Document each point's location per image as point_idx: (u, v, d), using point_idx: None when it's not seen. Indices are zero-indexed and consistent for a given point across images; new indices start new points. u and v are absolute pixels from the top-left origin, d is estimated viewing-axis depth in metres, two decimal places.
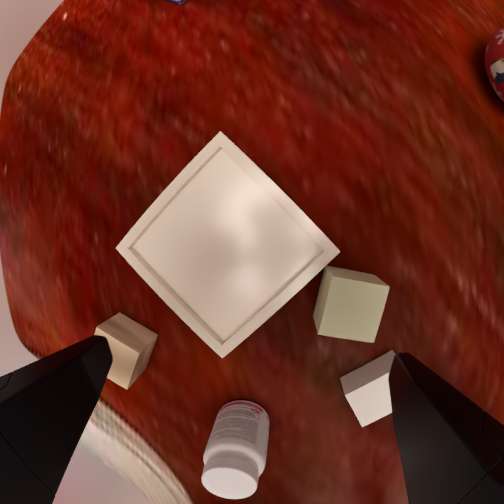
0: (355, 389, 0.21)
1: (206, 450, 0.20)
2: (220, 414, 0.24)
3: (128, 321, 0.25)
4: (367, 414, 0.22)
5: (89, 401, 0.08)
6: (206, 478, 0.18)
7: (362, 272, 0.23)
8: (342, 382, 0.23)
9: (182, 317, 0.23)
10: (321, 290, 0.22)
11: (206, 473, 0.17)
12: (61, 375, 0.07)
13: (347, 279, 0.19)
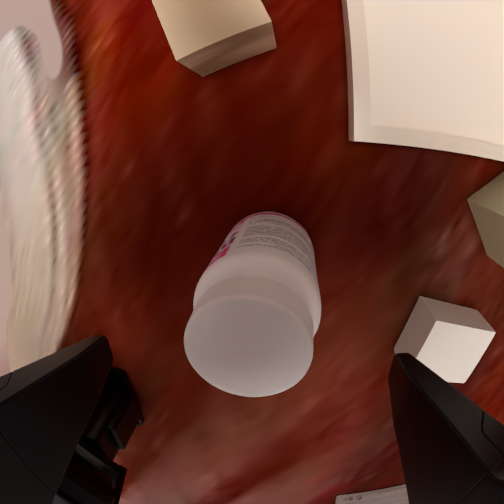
0: (448, 322, 0.14)
1: (237, 254, 0.11)
2: (264, 218, 0.15)
3: None
4: (424, 364, 0.15)
5: (89, 401, 0.08)
6: (218, 313, 0.09)
7: None
8: (426, 303, 0.16)
9: (354, 49, 0.11)
10: None
11: (233, 301, 0.08)
12: (61, 375, 0.07)
13: None
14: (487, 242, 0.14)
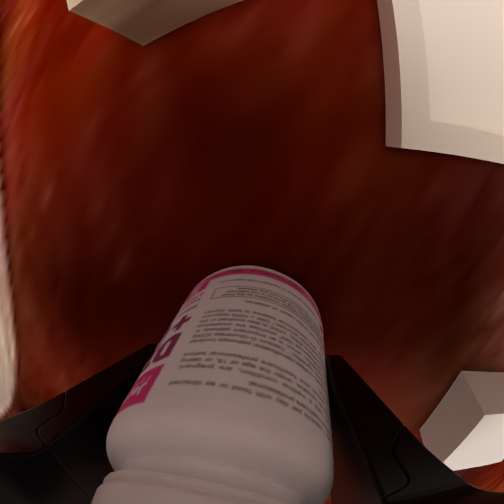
0: (498, 413, 0.08)
1: (163, 411, 0.04)
2: (238, 285, 0.08)
3: None
4: (459, 458, 0.09)
5: None
6: None
7: None
8: (470, 383, 0.10)
9: None
10: None
11: None
12: (122, 391, 0.07)
13: None
14: None
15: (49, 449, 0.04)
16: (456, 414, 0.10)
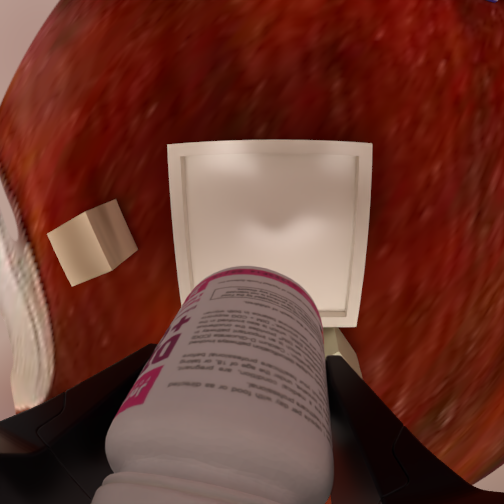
0: None
1: (162, 413, 0.04)
2: (238, 286, 0.08)
3: (119, 218, 0.20)
4: None
5: None
6: None
7: (350, 346, 0.23)
8: None
9: (178, 263, 0.20)
10: None
11: None
12: (122, 391, 0.07)
13: None
14: None
15: (49, 450, 0.04)
16: None
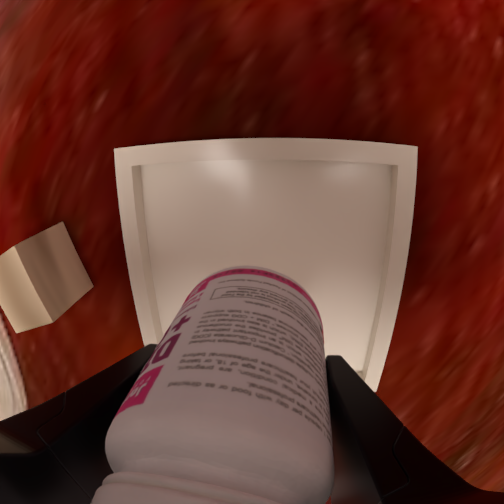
0: None
1: (162, 413, 0.04)
2: (238, 285, 0.08)
3: (66, 247, 0.15)
4: None
5: None
6: None
7: None
8: None
9: (139, 311, 0.14)
10: None
11: None
12: (122, 391, 0.07)
13: None
14: None
15: (49, 449, 0.04)
16: None
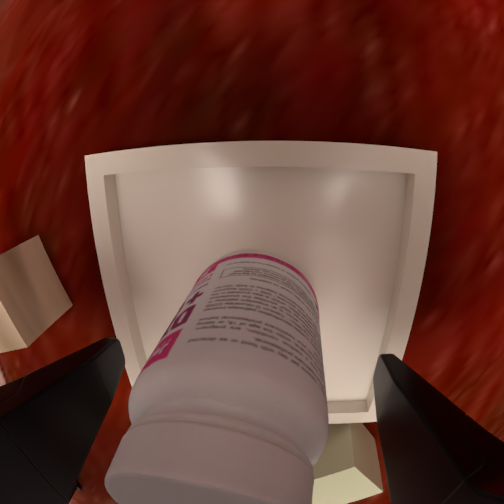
0: None
1: (184, 362, 0.06)
2: (244, 266, 0.10)
3: (41, 263, 0.13)
4: None
5: (102, 405, 0.08)
6: (143, 485, 0.04)
7: (368, 431, 0.15)
8: None
9: (119, 336, 0.12)
10: None
11: (164, 482, 0.04)
12: (74, 379, 0.07)
13: (362, 473, 0.11)
14: None
15: (1, 424, 0.04)
16: None
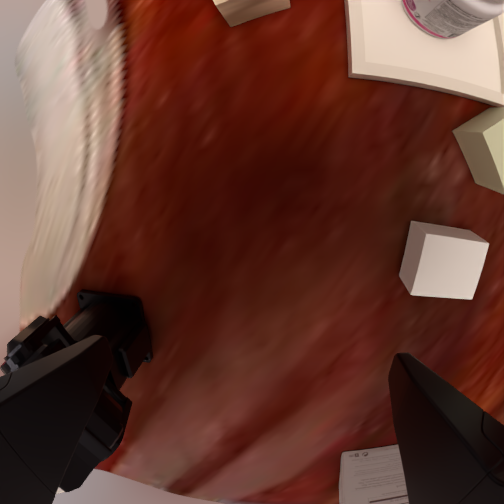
0: (438, 235, 0.16)
1: None
2: None
3: None
4: (426, 280, 0.17)
5: (89, 401, 0.08)
6: None
7: None
8: (417, 224, 0.18)
9: (351, 7, 0.13)
10: (483, 116, 0.14)
11: None
12: (61, 375, 0.07)
13: None
14: (474, 168, 0.16)
15: None
16: (413, 246, 0.18)
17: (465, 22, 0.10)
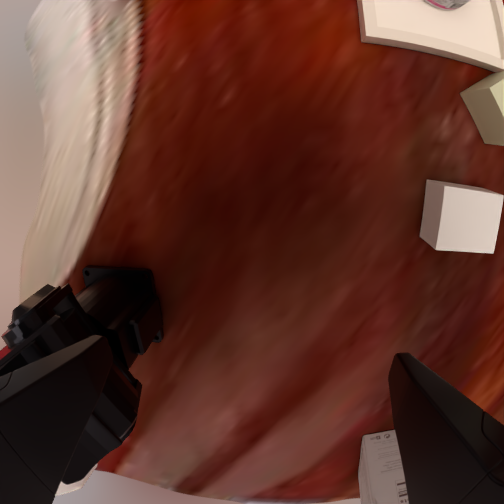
0: (456, 187, 0.16)
1: None
2: None
3: None
4: (449, 233, 0.17)
5: (89, 401, 0.08)
6: None
7: None
8: (433, 181, 0.17)
9: None
10: (487, 79, 0.14)
11: None
12: (61, 375, 0.07)
13: None
14: (483, 128, 0.16)
15: None
16: (433, 202, 0.17)
17: None
